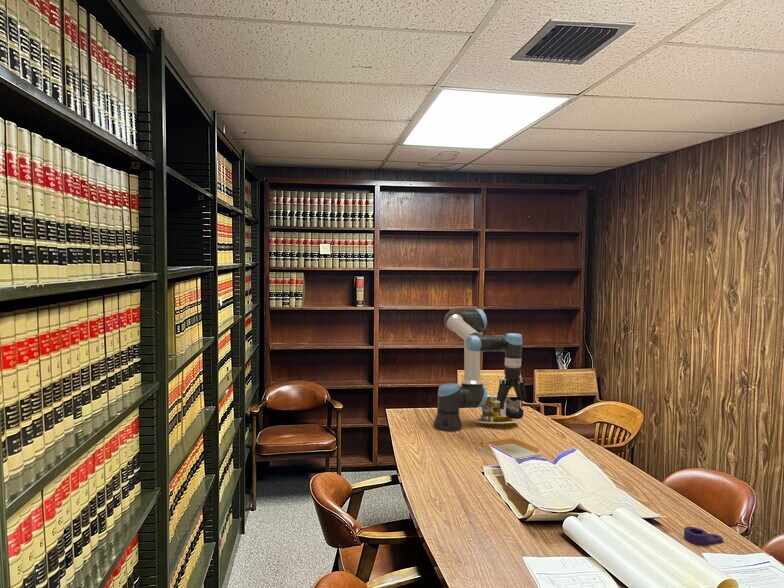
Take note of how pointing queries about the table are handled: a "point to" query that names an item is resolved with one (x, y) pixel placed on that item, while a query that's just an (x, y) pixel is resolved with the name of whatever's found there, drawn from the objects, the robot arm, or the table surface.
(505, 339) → the robot arm
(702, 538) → the lever
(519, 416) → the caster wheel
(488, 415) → the stacked cans on tray
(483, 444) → the shallow square tray
